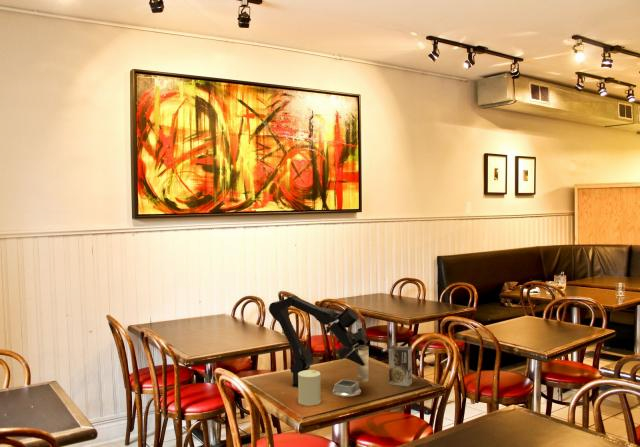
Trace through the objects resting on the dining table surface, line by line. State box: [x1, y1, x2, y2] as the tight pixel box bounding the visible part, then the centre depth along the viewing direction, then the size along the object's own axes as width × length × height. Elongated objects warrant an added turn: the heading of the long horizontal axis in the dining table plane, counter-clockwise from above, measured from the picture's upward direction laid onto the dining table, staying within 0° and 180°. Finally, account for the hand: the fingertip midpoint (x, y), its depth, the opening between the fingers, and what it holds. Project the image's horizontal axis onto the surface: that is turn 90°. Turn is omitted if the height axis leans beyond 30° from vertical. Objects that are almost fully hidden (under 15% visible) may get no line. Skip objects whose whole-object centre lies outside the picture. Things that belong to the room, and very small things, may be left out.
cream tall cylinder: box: [357, 345, 370, 383], centre depth 228 cm, size 4×4×14 cm
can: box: [297, 369, 322, 407], centre depth 220 cm, size 9×9×12 cm
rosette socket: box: [332, 378, 362, 398], centre depth 232 cm, size 12×12×4 cm
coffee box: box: [388, 345, 413, 388], centre depth 242 cm, size 9×6×16 cm
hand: (366, 363), depth 227 cm, fingers closed on cream tall cylinder, 4 cm apart
